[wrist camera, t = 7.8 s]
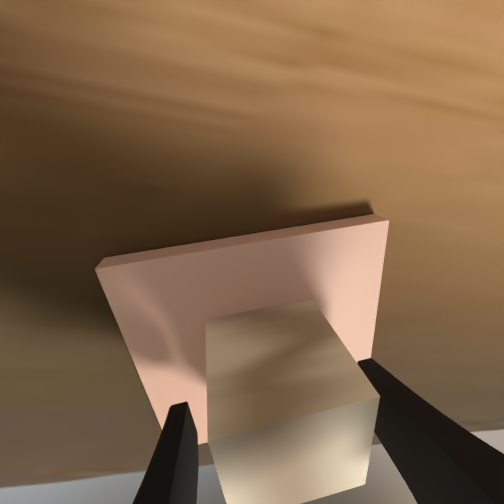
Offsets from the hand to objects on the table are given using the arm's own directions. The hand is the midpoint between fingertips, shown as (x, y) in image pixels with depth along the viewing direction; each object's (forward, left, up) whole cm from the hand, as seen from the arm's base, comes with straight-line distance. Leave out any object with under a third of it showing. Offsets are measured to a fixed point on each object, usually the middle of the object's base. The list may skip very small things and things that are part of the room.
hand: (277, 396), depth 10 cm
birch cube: (0, 0, -2) cm, 2 cm away
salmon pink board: (0, 0, -3) cm, 3 cm away
